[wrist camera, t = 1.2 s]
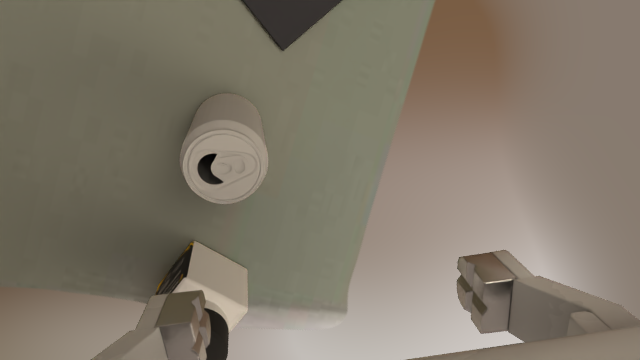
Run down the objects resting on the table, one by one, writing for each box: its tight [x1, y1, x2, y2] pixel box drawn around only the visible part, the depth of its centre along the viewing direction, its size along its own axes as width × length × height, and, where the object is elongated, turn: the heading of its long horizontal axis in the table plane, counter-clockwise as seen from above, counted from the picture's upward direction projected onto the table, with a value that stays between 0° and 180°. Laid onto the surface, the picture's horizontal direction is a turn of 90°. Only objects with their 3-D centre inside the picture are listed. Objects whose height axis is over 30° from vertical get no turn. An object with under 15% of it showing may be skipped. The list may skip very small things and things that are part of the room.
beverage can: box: [180, 93, 268, 204], centre depth 35 cm, size 6×6×12 cm
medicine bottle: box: [155, 241, 248, 360], centre depth 41 cm, size 7×7×12 cm
